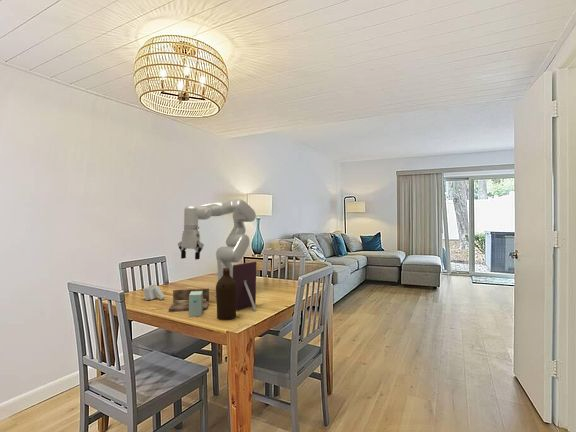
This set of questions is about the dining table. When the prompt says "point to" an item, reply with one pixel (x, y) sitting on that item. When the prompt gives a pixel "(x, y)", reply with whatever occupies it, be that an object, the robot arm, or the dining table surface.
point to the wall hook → (153, 292)
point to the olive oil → (226, 296)
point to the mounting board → (187, 299)
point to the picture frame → (245, 285)
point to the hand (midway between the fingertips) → (190, 258)
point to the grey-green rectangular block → (195, 303)
